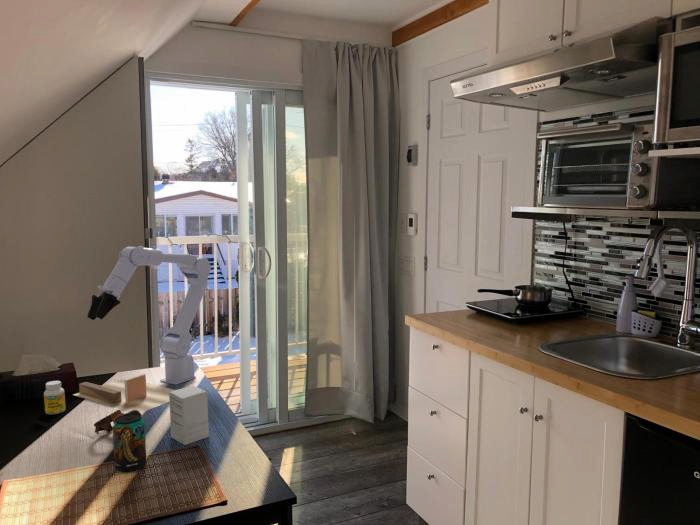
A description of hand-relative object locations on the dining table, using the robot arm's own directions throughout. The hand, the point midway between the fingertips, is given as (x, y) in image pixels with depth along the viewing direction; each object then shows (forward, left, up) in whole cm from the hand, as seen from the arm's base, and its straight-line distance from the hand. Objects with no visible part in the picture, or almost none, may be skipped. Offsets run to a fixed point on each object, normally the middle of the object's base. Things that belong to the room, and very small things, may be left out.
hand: (94, 318), depth 172 cm
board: (-10, +2, -27) cm, 29 cm away
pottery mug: (+11, +25, -28) cm, 39 cm away
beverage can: (+21, +43, -27) cm, 55 cm away
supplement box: (+2, +42, -28) cm, 50 cm away
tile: (-8, +7, -23) cm, 25 cm away
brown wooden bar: (-3, -4, -26) cm, 27 cm away
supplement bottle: (+11, -5, -27) cm, 30 cm away
